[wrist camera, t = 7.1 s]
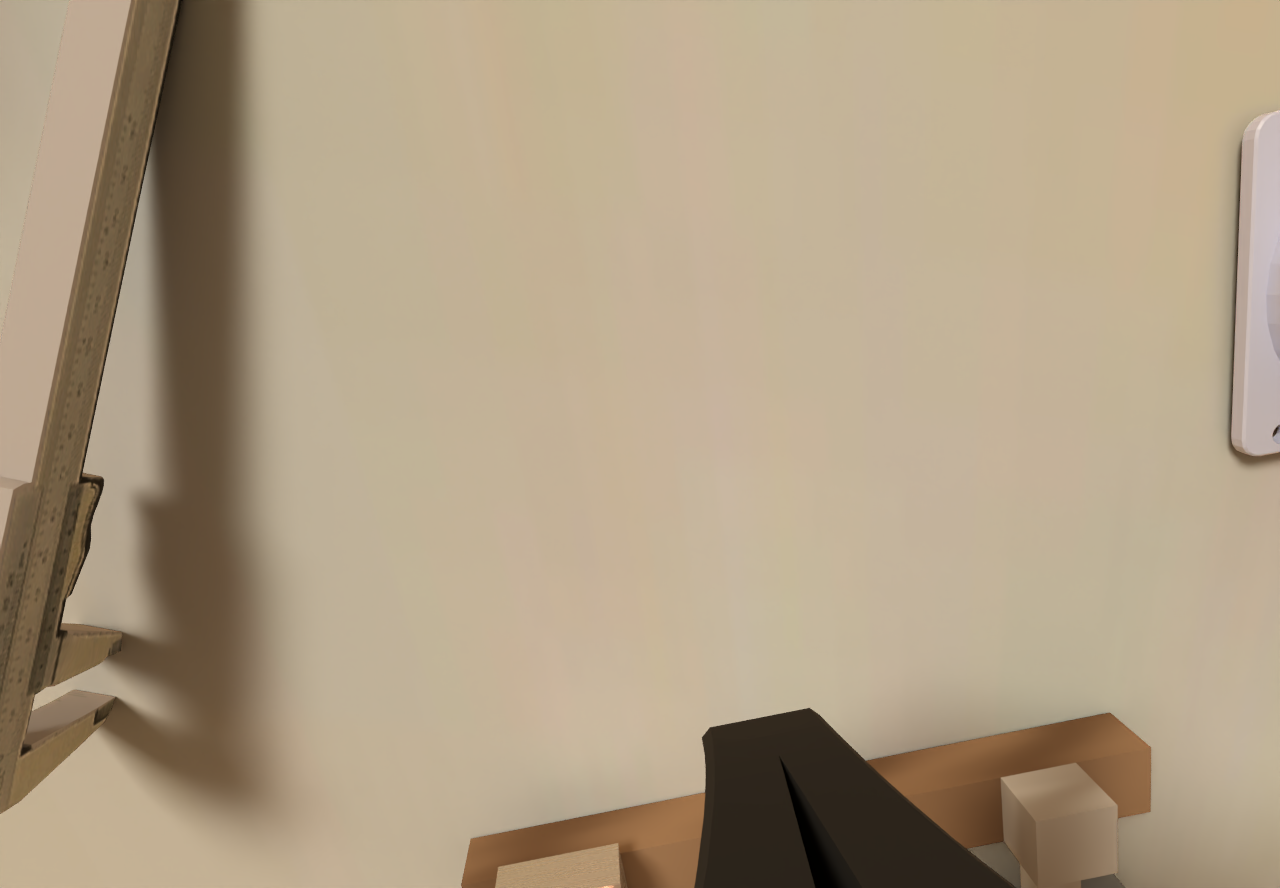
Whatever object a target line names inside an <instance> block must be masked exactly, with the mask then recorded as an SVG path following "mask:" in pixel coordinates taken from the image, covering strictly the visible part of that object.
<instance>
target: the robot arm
mask: <svg viewBox="0 0 1280 888" xmlns="http://www.w3.org/2000/svg"><path fill="white" fill-rule="evenodd" d="M1277 426H1278V430H1277V434H1276V435H1275V436H1274V437H1272V435H1273V432H1274V429H1275V428H1276V427H1277ZM1231 439H1232V445H1233V446H1234V447H1235V449H1236V450H1237V451H1239V452H1241V453H1244V454H1248V455H1251V456H1264V455H1269V454H1274V453H1279V452H1280V110H1279V111H1274V112H1270V113H1265V114H1262V115H1260V116H1257V117H1256V118H1255V119H1253V120H1252V121H1251V122H1250V123H1249V125H1248V126H1247V128H1246V130H1245V131H1244V136H1243V140H1242V163H1241V190H1240V217H1239V244H1238V270H1237V297H1236V324H1235V351H1234V378H1233V404H1232V431H1231ZM702 741H703V747H704V752H705V764H706V789H705V804H704V818H703V826H702V834H701V842H700V850H699V858H698V866H697V873H696V880H695V886H694V888H1016V887H1014V886H1013V885H1012V884H1011V883H1009V882H1008V881H1007V880H1005V879H1004V878H1003V877H1001V876H1000V875H999V874H998V873H996V872H995V871H994V870H992V869H991V868H990V867H989V866H987V865H986V864H985V863H983V862H982V861H981V860H980V859H978V858H977V857H976V856H975V855H973V854H972V853H971V852H970V851H969V850H967V849H966V848H965V847H964V846H962V845H961V844H960V843H959V842H957V841H956V840H955V839H954V838H953V837H951V836H950V835H949V834H948V833H947V832H946V831H944V830H943V829H942V828H941V827H940V826H939V825H937V824H936V823H935V822H934V821H933V820H932V819H930V818H929V817H928V816H927V815H926V814H925V813H923V812H922V811H921V810H920V809H919V808H918V807H916V806H915V805H914V804H913V803H912V802H910V801H909V800H908V799H907V798H906V797H905V796H904V795H902V794H901V793H900V792H899V791H898V790H897V789H896V788H895V787H894V786H892V785H891V784H890V783H889V782H888V781H887V780H886V779H885V778H884V777H883V776H882V775H880V774H879V773H878V772H877V771H876V770H875V769H874V768H873V767H872V766H871V765H870V764H869V763H868V762H866V761H865V760H864V759H863V758H862V757H861V756H860V755H859V754H858V753H857V752H856V751H855V750H854V749H853V748H852V747H851V746H850V745H849V744H848V743H847V742H846V741H845V740H844V739H843V738H842V737H841V736H840V735H839V734H838V733H837V732H836V731H835V730H834V729H833V728H832V727H831V726H830V725H829V724H828V723H827V722H826V721H825V720H824V719H823V718H822V717H821V716H820V715H819V714H817V713H816V712H814V711H813V710H812V709H810V708H807V709H802V710H797V711H792V712H787V713H782V714H777V715H772V716H767V717H761V718H756V719H751V720H746V721H741V722H736V723H731V724H726V725H720V726H715V727H710V728H709V729H708V731H707V732H706V733H705V734H704V736H703V737H702Z"/></svg>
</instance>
